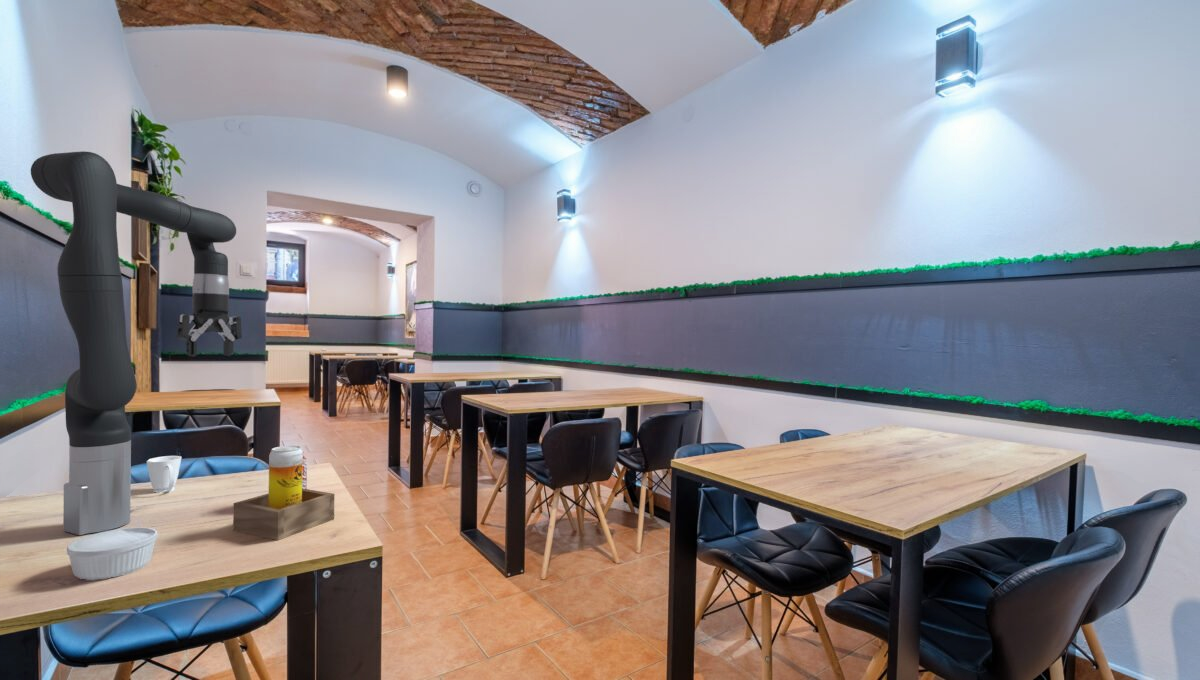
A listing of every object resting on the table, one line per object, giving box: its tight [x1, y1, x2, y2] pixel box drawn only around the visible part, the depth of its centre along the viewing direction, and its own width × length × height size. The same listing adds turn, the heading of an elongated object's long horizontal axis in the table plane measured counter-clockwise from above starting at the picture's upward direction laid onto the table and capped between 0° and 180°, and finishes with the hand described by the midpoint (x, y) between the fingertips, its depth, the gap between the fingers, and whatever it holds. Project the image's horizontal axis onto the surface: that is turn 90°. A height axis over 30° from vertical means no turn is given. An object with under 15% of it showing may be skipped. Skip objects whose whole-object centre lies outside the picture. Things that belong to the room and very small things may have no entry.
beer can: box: [268, 445, 304, 509], centre depth 111 cm, size 6×6×15 cm
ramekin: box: [66, 526, 159, 581], centre depth 89 cm, size 11×11×5 cm
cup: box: [146, 455, 182, 494], centre depth 133 cm, size 7×10×8 cm
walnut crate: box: [232, 488, 335, 541], centre depth 111 cm, size 13×13×6 cm
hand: (210, 356), depth 135 cm, fingers open, 8 cm apart
